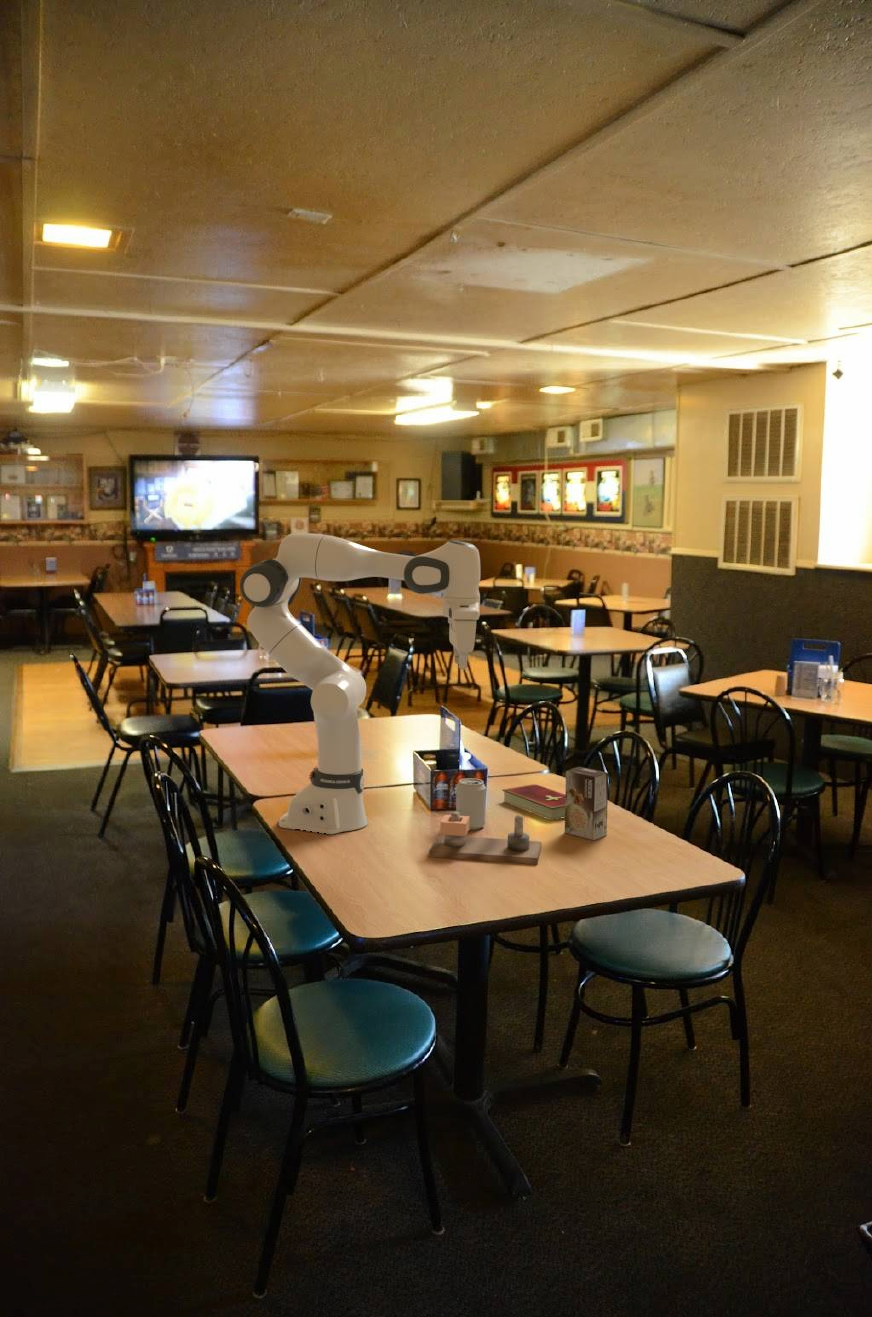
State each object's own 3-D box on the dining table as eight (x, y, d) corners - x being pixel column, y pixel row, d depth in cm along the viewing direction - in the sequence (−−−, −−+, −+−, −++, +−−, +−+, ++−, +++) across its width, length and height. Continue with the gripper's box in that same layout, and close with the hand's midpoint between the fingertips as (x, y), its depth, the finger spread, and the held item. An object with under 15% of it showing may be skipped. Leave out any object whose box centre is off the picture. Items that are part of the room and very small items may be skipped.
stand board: (429, 856, 233) (429, 817, 232) (438, 840, 245) (438, 802, 243) (537, 864, 229) (538, 824, 227) (541, 847, 240) (542, 809, 239)
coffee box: (608, 835, 250) (610, 772, 248) (593, 841, 246) (595, 777, 244) (577, 827, 257) (579, 765, 254) (562, 832, 252) (564, 770, 250)
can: (482, 832, 252) (483, 785, 250) (453, 829, 253) (454, 783, 252) (487, 823, 259) (488, 777, 257) (458, 821, 261) (459, 776, 259)
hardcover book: (535, 797, 286) (536, 782, 285) (585, 815, 268) (586, 800, 268) (502, 803, 279) (502, 788, 278) (551, 822, 262) (551, 806, 261)
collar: (440, 834, 235) (440, 822, 234) (444, 826, 241) (444, 814, 240) (465, 836, 234) (465, 823, 233) (469, 828, 240) (469, 816, 239)
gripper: (443, 605, 251) (443, 660, 253) (452, 612, 231) (451, 672, 233) (469, 605, 251) (468, 660, 253) (480, 613, 231) (479, 672, 233)
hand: (460, 666), depth 243 cm, fingers open, 8 cm apart
